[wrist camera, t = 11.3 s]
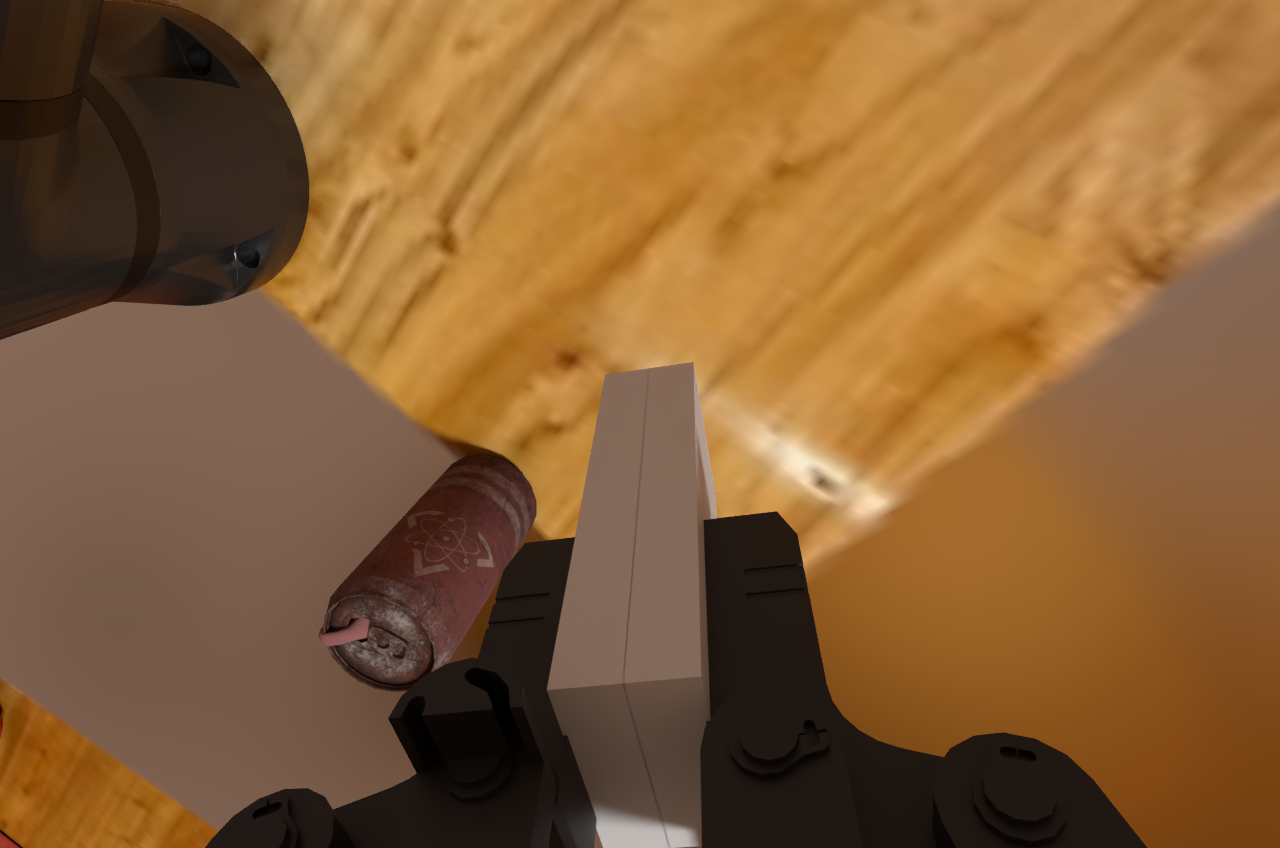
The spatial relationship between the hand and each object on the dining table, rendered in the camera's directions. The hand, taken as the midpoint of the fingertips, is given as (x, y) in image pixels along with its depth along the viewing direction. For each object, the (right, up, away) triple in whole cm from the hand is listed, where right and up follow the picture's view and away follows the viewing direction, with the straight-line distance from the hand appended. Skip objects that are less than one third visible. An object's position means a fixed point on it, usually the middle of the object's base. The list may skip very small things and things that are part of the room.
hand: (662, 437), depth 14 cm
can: (-10, -4, +34) cm, 36 cm away
